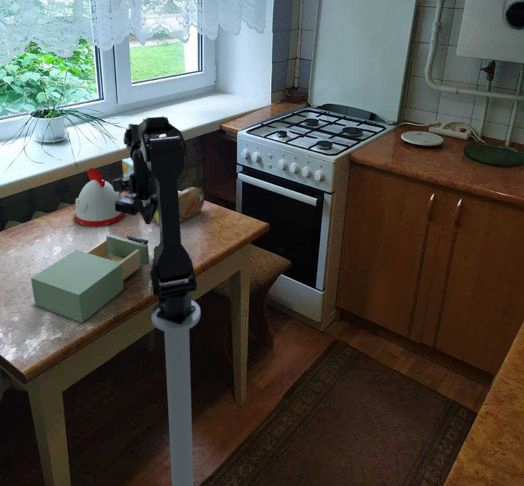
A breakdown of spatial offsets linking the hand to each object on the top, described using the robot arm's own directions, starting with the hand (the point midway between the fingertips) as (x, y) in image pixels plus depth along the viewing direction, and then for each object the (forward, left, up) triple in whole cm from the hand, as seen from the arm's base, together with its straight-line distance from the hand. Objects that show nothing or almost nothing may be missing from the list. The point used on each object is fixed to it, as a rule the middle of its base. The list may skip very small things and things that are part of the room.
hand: (148, 223), depth 133 cm
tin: (+1, -20, -7) cm, 21 cm away
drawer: (0, +12, -6) cm, 14 cm away
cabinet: (0, +26, -7) cm, 27 cm away
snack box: (+13, -17, -7) cm, 23 cm away
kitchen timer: (+24, -8, -7) cm, 26 cm away
